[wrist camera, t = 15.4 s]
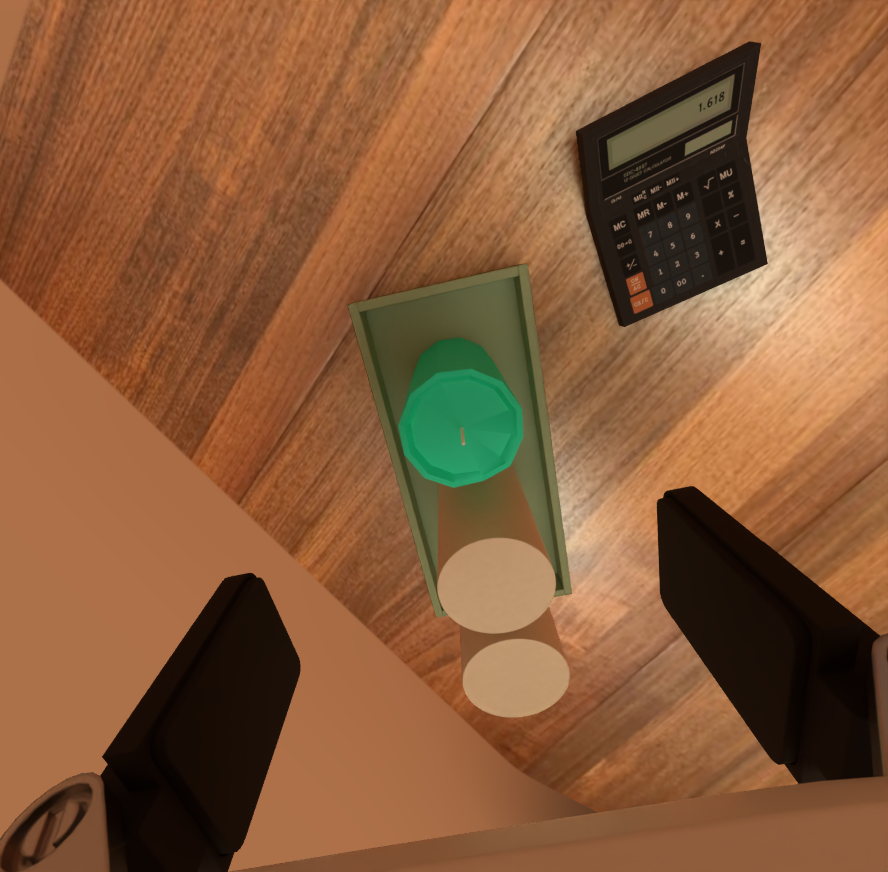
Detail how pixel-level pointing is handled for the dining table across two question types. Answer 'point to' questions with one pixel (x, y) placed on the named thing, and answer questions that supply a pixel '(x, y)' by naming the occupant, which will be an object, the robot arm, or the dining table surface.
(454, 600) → the cream candle
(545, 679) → the cream candle
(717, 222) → the calculator
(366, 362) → the tray
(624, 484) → the dining table surface
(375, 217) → the dining table surface
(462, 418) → the candle
